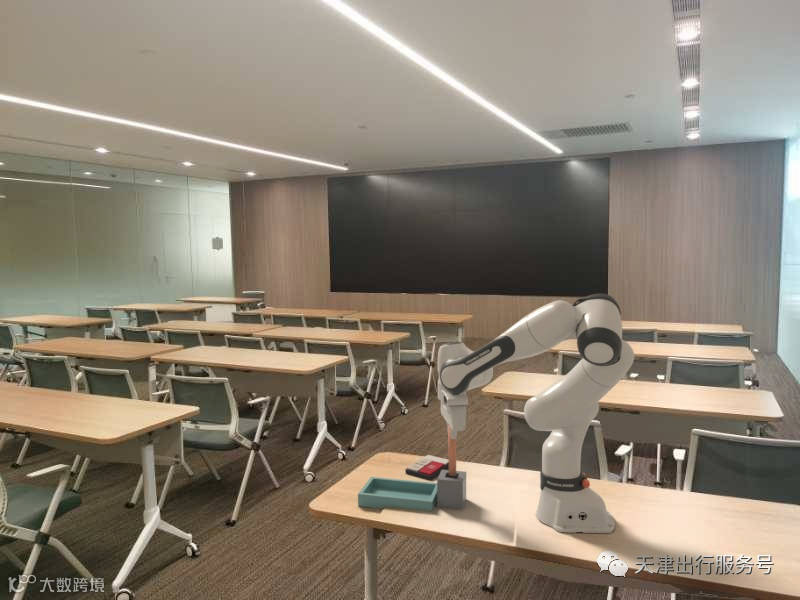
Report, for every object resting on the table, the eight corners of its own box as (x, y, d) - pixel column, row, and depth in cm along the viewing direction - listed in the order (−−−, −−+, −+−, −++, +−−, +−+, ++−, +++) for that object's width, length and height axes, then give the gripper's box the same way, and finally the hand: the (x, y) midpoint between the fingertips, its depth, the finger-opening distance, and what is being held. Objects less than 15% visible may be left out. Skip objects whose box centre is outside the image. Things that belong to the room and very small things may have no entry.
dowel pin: (456, 473, 175) (456, 423, 173) (455, 476, 172) (455, 425, 171) (449, 472, 175) (448, 423, 174) (448, 475, 173) (447, 425, 172)
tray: (440, 495, 183) (440, 483, 182) (432, 514, 169) (432, 501, 169) (371, 488, 189) (371, 476, 188) (358, 506, 175) (357, 493, 175)
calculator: (404, 467, 199) (427, 453, 211) (405, 478, 199) (427, 463, 211) (430, 474, 192) (452, 459, 204) (430, 485, 193) (452, 470, 205)
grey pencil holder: (466, 501, 178) (466, 471, 177) (462, 513, 170) (462, 481, 169) (441, 499, 180) (441, 469, 179) (437, 510, 172) (437, 479, 171)
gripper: (435, 386, 182) (436, 427, 183) (448, 401, 161) (448, 447, 162) (454, 385, 183) (454, 426, 183) (469, 400, 162) (469, 446, 163)
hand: (452, 436), depth 173 cm, fingers closed on dowel pin, 2 cm apart
